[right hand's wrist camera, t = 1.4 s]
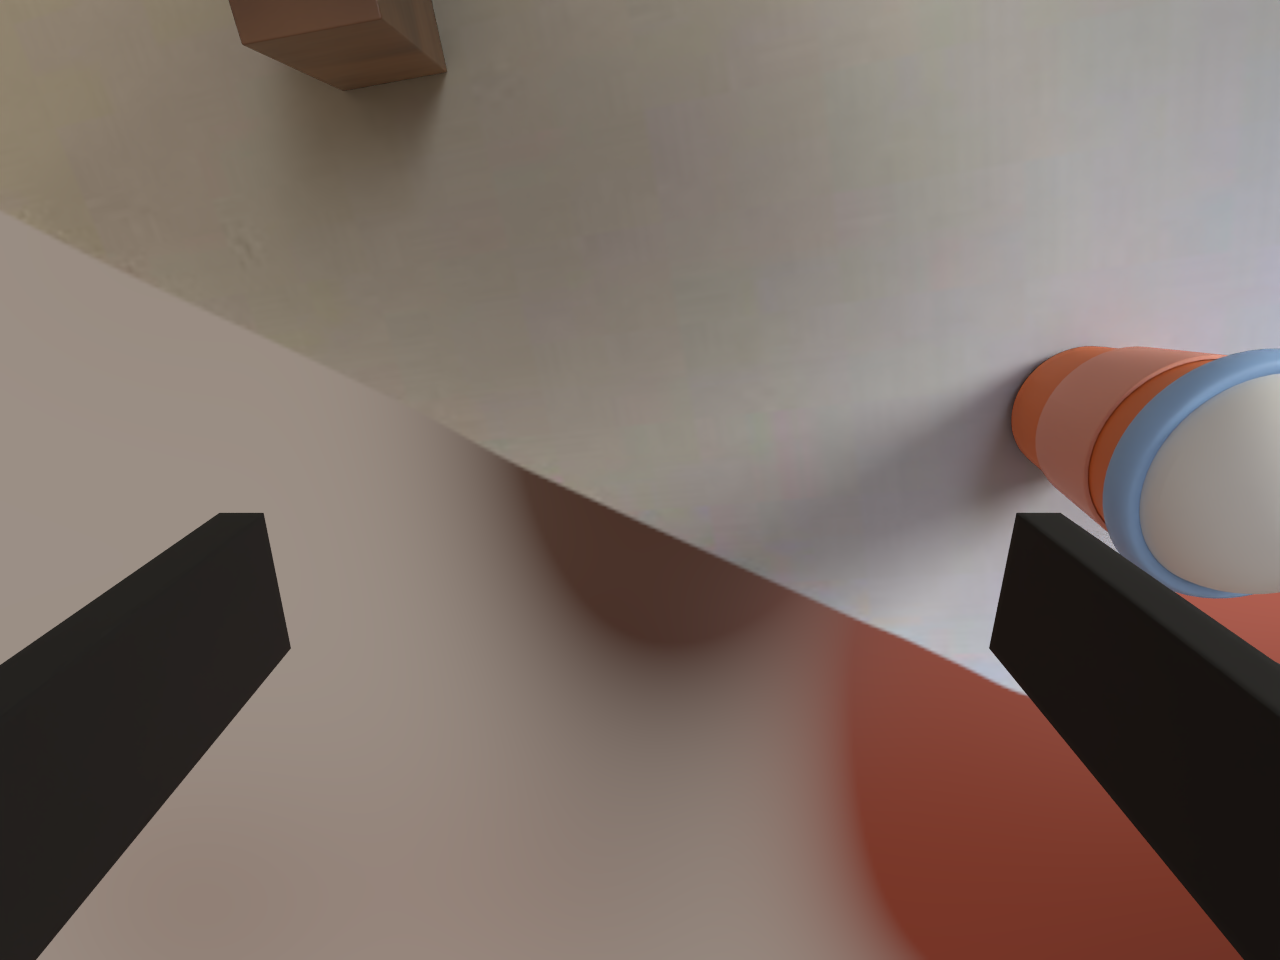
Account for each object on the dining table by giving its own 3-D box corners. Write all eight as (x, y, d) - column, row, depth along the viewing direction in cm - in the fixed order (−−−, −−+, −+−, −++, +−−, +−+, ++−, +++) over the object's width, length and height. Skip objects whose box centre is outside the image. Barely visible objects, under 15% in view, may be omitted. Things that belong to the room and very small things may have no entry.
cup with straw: (956, 485, 35) (1251, 725, 18) (1011, 301, 32) (1427, 385, 15) (1129, 506, 36) (1573, 758, 19) (1200, 326, 33) (1806, 435, 16)
